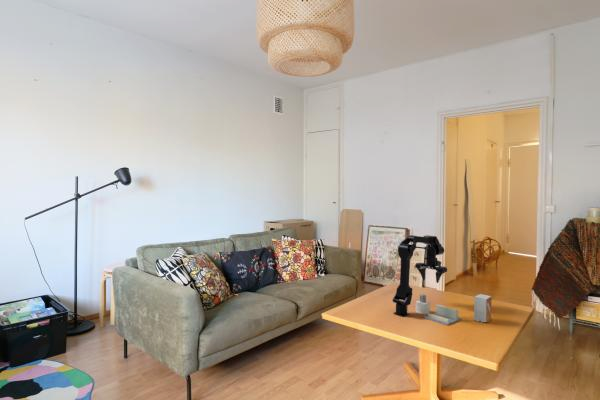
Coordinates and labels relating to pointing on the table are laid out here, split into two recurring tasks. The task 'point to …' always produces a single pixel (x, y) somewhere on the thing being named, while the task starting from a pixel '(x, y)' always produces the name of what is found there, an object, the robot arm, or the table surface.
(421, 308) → the block with grey handle
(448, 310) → the cleat board
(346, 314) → the table surface
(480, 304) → the small box
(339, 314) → the table surface
